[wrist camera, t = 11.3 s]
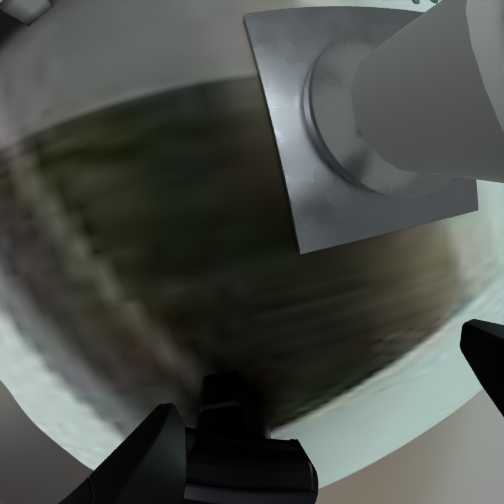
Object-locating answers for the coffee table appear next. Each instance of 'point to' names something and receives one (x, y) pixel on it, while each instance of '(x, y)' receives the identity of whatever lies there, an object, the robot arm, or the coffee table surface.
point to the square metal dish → (338, 128)
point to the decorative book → (416, 1)
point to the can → (438, 92)
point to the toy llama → (25, 9)
